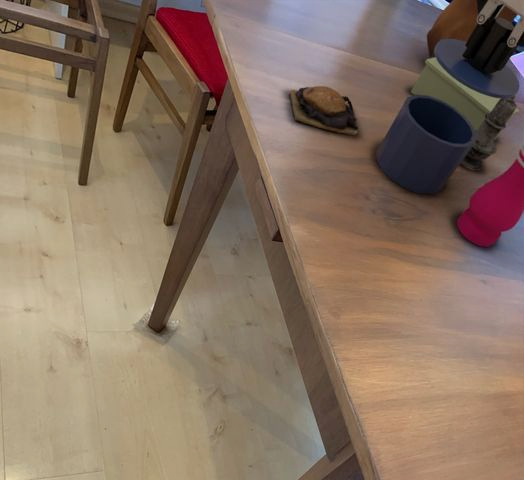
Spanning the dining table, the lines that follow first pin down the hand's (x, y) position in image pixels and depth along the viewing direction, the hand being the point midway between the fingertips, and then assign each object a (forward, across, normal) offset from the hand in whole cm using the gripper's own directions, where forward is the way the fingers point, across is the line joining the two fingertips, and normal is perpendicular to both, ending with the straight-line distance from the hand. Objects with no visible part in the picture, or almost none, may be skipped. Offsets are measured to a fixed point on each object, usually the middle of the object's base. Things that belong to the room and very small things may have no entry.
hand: (480, 62), depth 72 cm
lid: (+1, 0, 0) cm, 1 cm away
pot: (+17, 0, +1) cm, 17 cm away
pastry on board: (+17, +15, +6) cm, 24 cm away
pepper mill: (+17, -14, +2) cm, 22 cm away
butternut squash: (+18, +16, -34) cm, 42 cm away
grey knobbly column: (+17, -3, -13) cm, 22 cm away
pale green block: (+17, +6, -22) cm, 29 cm away
